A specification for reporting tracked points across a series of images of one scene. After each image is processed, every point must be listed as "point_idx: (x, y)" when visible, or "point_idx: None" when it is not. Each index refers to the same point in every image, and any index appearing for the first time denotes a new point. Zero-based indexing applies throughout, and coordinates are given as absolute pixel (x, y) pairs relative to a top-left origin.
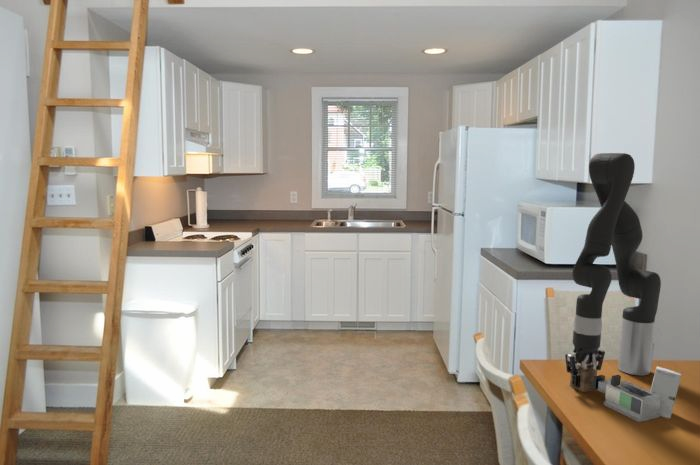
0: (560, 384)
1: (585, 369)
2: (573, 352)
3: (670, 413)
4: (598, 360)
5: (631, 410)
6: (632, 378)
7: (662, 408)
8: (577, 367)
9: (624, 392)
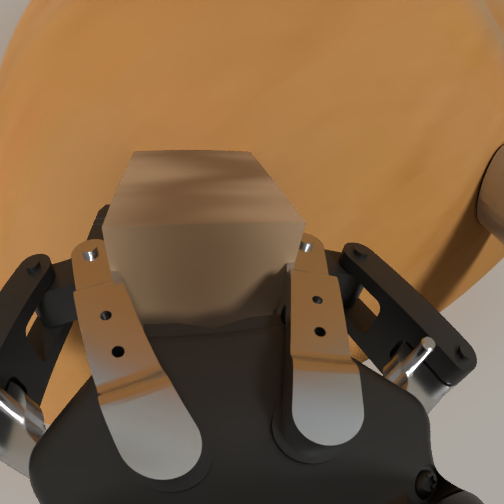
0: (90, 113)
1: (192, 317)
2: (32, 478)
3: None
4: (371, 340)
5: None
6: (456, 219)
7: None
8: (154, 265)
9: None
